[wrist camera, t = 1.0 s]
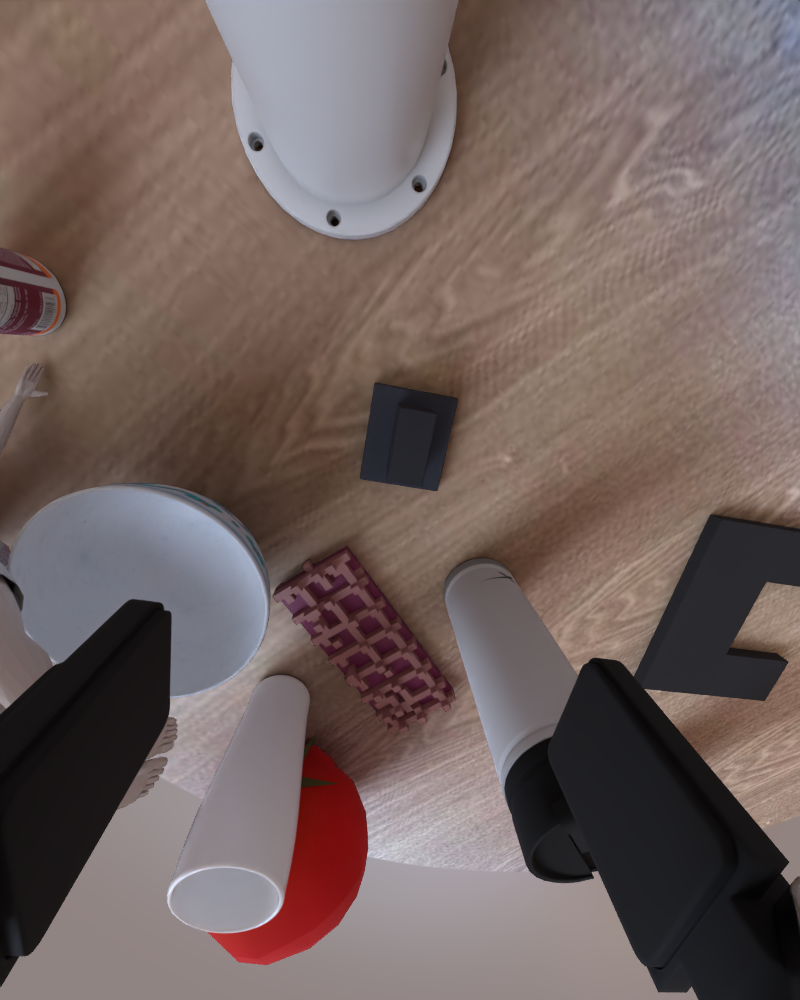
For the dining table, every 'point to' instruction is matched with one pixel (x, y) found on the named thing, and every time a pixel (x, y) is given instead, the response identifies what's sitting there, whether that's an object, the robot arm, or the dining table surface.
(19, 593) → the figurine
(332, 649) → the chocolate bar
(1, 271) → the pill bottle
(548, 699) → the travel mug
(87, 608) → the chinaware
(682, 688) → the black u-shaped block
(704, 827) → the robot arm
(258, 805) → the drinking glass
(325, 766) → the tomato
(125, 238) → the dining table surface
